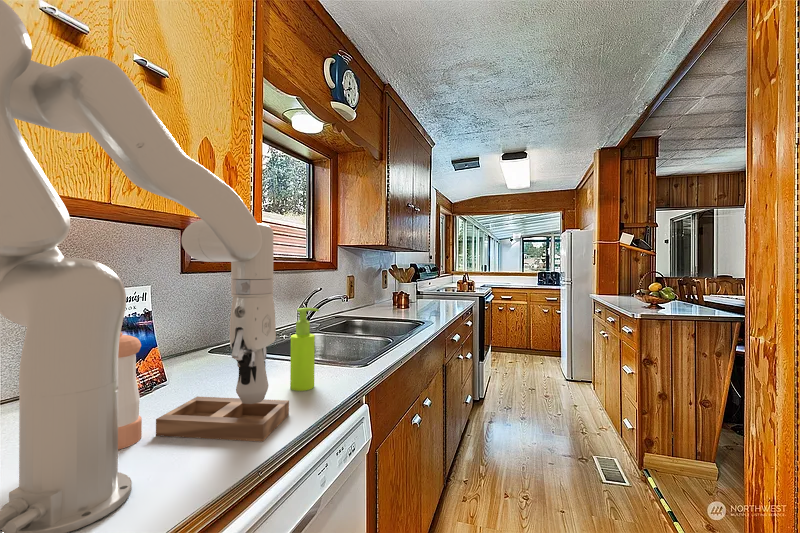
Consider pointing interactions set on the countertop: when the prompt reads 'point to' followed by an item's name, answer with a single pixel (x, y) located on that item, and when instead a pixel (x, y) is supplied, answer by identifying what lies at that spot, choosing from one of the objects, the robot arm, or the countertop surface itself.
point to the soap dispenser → (302, 354)
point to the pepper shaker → (128, 392)
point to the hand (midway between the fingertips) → (252, 383)
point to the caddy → (223, 419)
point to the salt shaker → (254, 382)
